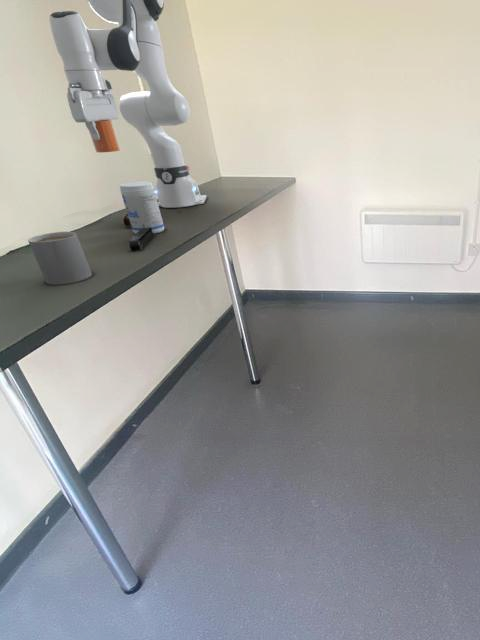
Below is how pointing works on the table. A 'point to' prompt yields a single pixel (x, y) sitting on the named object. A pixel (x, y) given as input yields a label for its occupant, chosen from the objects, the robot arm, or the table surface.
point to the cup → (105, 137)
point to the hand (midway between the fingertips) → (104, 138)
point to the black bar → (141, 239)
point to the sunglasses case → (127, 221)
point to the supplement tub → (142, 206)
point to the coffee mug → (60, 257)
